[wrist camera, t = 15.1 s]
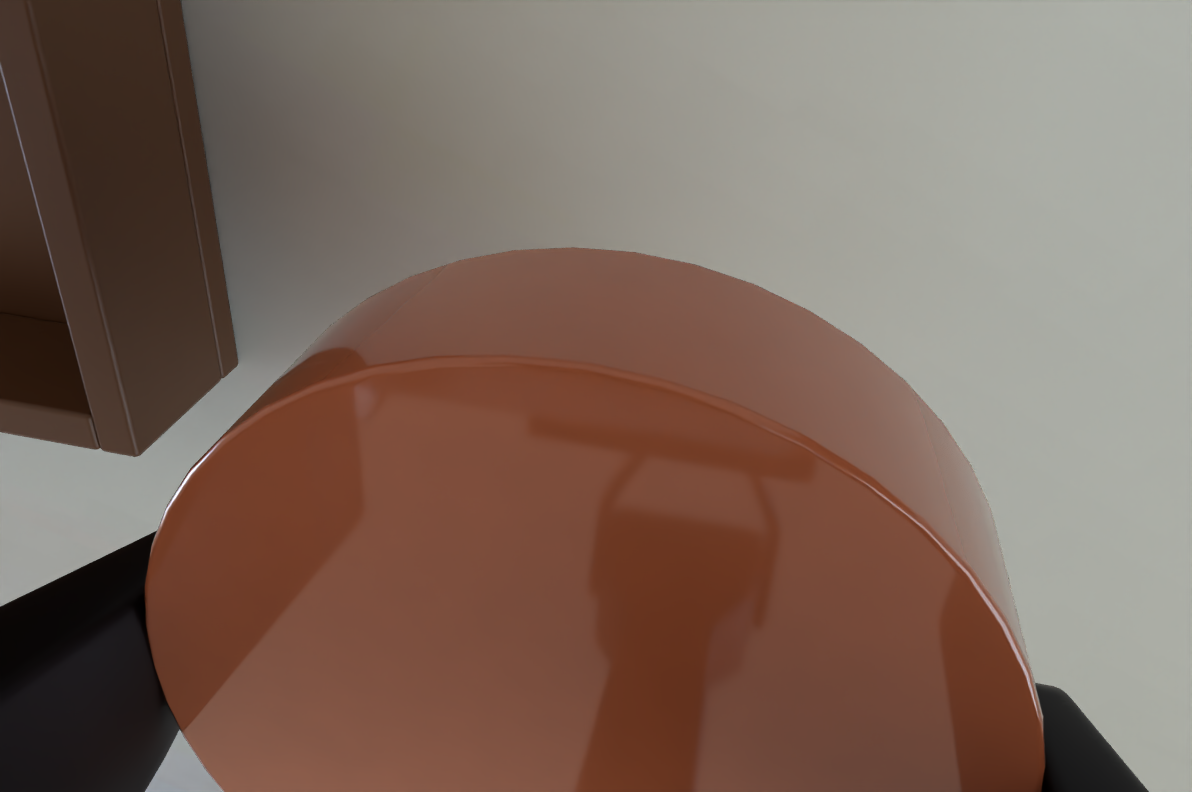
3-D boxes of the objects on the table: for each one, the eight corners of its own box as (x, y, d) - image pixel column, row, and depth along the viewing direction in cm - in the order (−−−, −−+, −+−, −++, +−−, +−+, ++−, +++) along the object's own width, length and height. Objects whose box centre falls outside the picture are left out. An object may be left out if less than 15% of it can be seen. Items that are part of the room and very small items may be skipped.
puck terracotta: (1109, 283, 7) (1225, 467, 5) (893, 841, 11) (910, 1075, 9) (239, 164, 8) (45, 280, 6) (317, 715, 12) (213, 900, 10)
